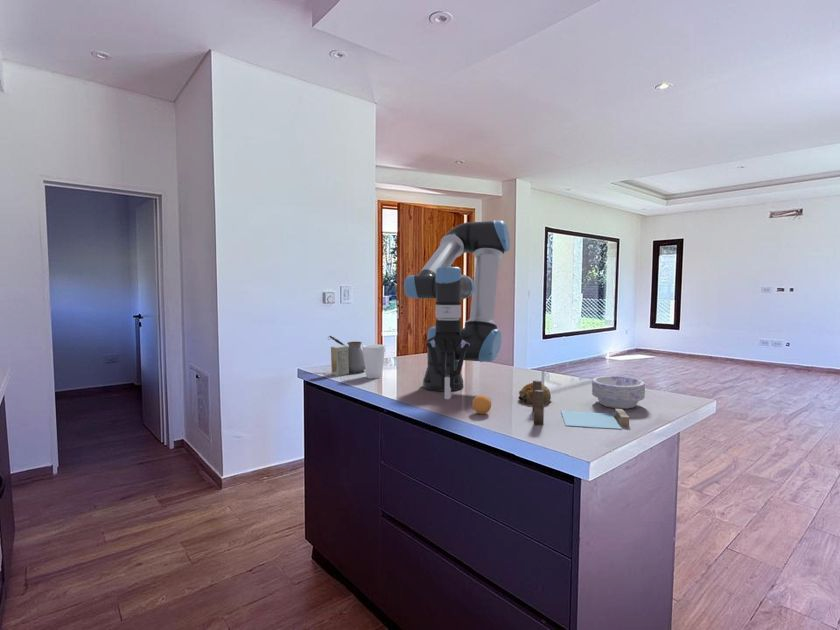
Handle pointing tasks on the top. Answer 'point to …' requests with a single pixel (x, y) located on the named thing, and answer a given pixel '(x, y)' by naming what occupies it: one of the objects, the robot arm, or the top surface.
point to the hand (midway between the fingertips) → (447, 397)
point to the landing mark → (590, 420)
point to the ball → (481, 404)
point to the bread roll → (527, 394)
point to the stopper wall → (622, 417)
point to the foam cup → (373, 359)
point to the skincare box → (339, 360)
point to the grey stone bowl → (618, 391)
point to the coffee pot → (354, 356)
